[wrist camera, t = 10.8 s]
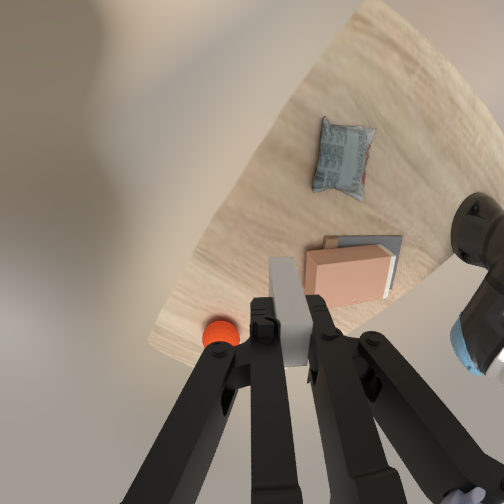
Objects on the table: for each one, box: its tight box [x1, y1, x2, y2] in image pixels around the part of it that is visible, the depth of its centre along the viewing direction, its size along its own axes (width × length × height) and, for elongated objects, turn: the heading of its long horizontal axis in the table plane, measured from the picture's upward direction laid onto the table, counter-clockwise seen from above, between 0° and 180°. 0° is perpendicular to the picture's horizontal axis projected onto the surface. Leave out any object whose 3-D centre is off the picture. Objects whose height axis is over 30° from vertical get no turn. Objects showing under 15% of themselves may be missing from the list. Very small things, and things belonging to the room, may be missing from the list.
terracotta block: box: [304, 244, 396, 308], centre depth 44 cm, size 5×8×14 cm
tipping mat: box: [323, 236, 402, 289], centre depth 47 cm, size 15×11×2 cm
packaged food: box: [312, 116, 377, 202], centre depth 38 cm, size 9×12×5 cm
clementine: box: [202, 321, 240, 348], centre depth 50 cm, size 8×7×7 cm
